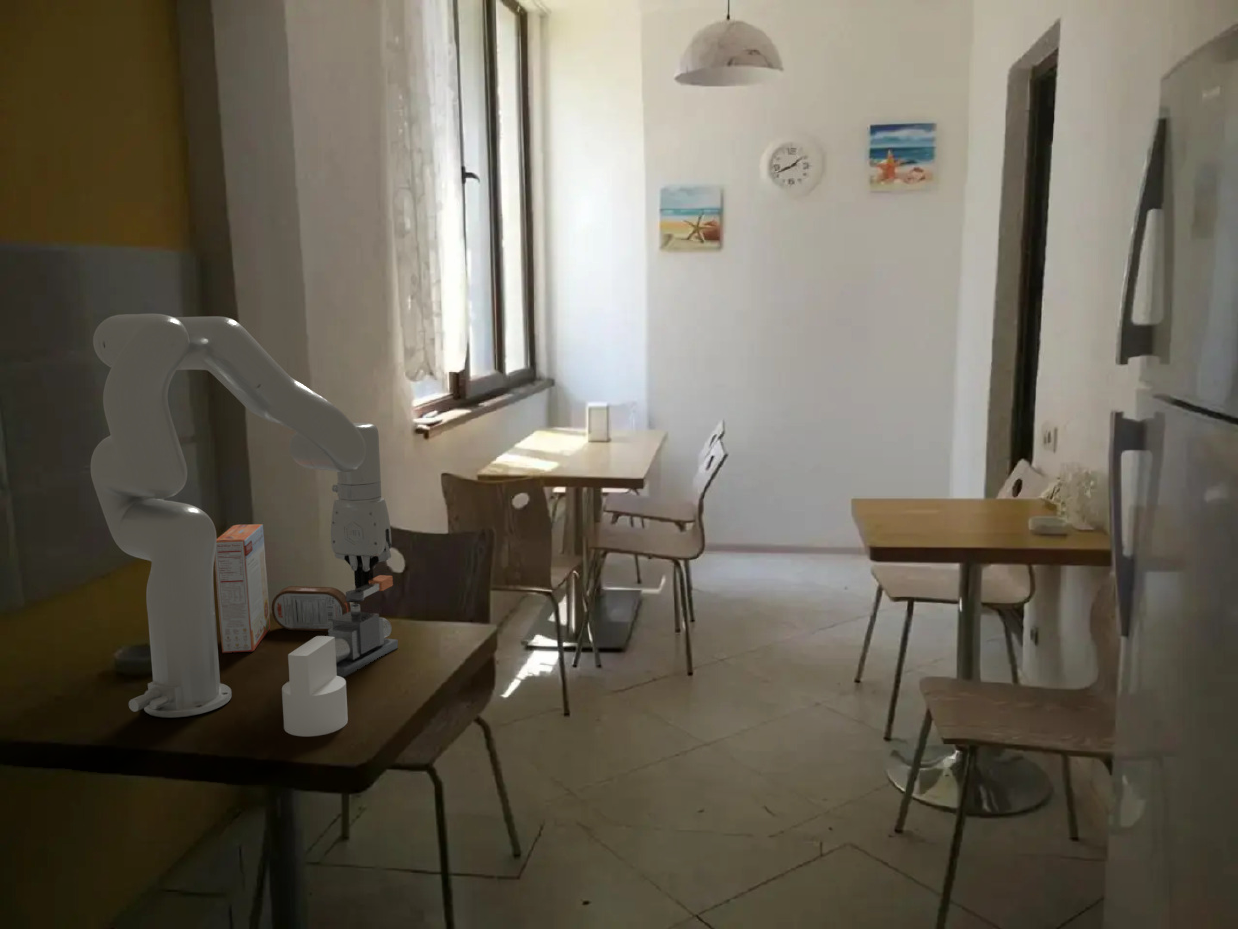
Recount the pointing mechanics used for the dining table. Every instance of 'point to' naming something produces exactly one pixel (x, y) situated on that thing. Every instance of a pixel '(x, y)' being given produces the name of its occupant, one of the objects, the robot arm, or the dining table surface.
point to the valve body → (360, 639)
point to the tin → (309, 607)
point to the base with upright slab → (314, 690)
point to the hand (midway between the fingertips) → (364, 590)
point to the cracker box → (242, 588)
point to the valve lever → (369, 588)
